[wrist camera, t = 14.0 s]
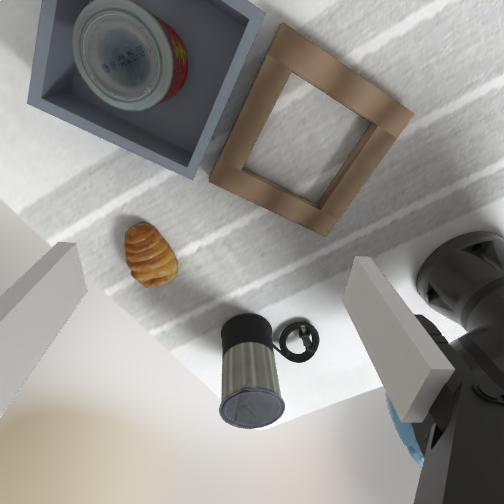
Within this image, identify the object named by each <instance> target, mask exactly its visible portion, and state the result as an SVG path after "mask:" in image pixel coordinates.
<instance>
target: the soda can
mask: <svg viewBox="0 0 504 504" xmlns="http://www.w3.org/2000/svg"><path fill="white" fill-rule="evenodd" d="M72 49H73V55H74V60H75V63H76V66H77V68H78V71H79V73H80V75H81V77H82V78H83V80H84V81H85V83H86V84H87V85H88V87H89V88H90V89H91V90H92V92H93V93H94V94H95V95H96V96H98V97H99V98H100V99H101V100H102V101H104V102H105V103H107V104H108V105H110V106H112V107H115V108H117V109H120V110H123V111H127V112H141V111H147V110H149V109H152V108H154V107H155V106H157V105H158V104H160V103H162V102H164V101H166V100H168V99H169V98H171V97H173V96H174V95H176V94H177V93H178V92H179V91H180V89H181V88H182V86H183V85H184V83H185V80H186V77H187V72H188V60H187V54H186V50H185V47H184V44H183V42H182V40H181V39H180V37H179V36H178V34H177V33H176V32H175V30H174V29H172V28H171V27H170V26H169V25H168V24H167V23H165V22H164V21H162V20H161V19H160V18H158V17H157V16H155V15H154V14H152V13H151V12H150V11H149V10H147V9H146V8H145V7H143V6H142V5H140V4H139V3H137V2H135V1H132V0H93V1H92V2H90V3H89V4H88V5H87V6H86V7H85V8H83V10H82V11H81V13H80V14H79V16H78V18H77V20H76V22H75V25H74V30H73V38H72Z"/></svg>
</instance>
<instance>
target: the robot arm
mask: <svg viewBox="0 0 504 504" xmlns="http://www.w3.org/2000/svg"><path fill="white" fill-rule="evenodd" d="M417 289H418V292H419V294H420V296H421V297H422V299H423V300H424V301H425V302H426V303H427V304H428V305H429V306H430V307H431V308H432V309H433V310H435V311H437V312H438V313H440V314H442V315H444V316H445V317H447V318H449V319H451V320H452V321H454V322H456V323H458V324H460V325H461V326H462V327H463V328H464V329H465V330H466V331H467V332H468V333H467V334H465V335H463V336H461V337H460V338H458V339H456V340H454V341H452V342H451V343H449V344H448V341H447V340H446V339H445V337H444V336H442V334H441V332H440V331H439V330H438V329H437V327H436V326H435V325H434V324H433V323H432V322H431V321H429V320H428V319H427V318H425V317H424V316H423V315H414V314H413V313H412V312H411V310H410V309H409V308H408V306H407V305H406V304H405V302H404V301H403V300H402V298H401V297H400V296H399V294H398V293H397V292H396V290H395V289H394V288H393V286H392V285H391V284H390V282H389V281H388V280H387V278H386V277H385V276H384V274H383V273H382V272H381V270H380V269H379V268H378V266H377V265H376V264H375V262H374V261H373V260H372V259H371V257H366V256H355V258H354V261H353V265H352V268H351V272H350V275H349V279H348V282H347V285H346V289H345V292H344V296H343V299H342V301H343V303H344V305H345V307H346V309H347V311H348V313H349V315H350V317H351V319H352V321H353V324H354V326H355V328H356V330H357V332H358V334H359V336H360V338H361V340H362V342H363V344H364V346H365V348H366V351H367V353H368V355H369V357H370V359H371V361H372V363H373V365H374V367H375V369H376V371H377V373H378V375H379V377H380V380H381V382H382V384H383V386H384V388H385V390H386V393H385V395H386V401H387V406H388V409H389V413H390V415H391V418H392V421H393V423H394V426H395V428H396V430H397V432H398V434H399V436H400V438H401V440H402V442H403V443H404V445H406V446H407V448H408V450H409V453H410V455H411V456H412V458H413V459H414V460H415V461H416V463H417V464H418V465H420V466H421V467H422V471H421V475H420V479H419V484H418V488H417V492H416V496H415V500H414V504H504V239H503V238H502V237H500V236H498V235H496V234H494V233H490V232H473V233H468V234H465V235H462V236H459V237H456V238H454V239H452V240H450V241H449V242H447V243H445V244H444V245H442V246H441V247H439V248H438V249H437V250H436V251H435V252H434V253H433V254H432V255H431V256H430V257H429V258H428V259H427V260H426V262H425V263H424V264H423V266H422V268H421V270H420V272H419V275H418V279H417ZM86 293H87V288H86V284H85V280H84V275H83V271H82V266H81V262H80V258H79V254H78V249H77V245H76V243H66V242H58V243H57V244H56V245H55V246H54V247H53V248H52V249H50V250H49V251H48V252H47V253H46V254H45V255H44V256H43V257H42V258H41V259H40V260H39V261H38V262H36V263H35V264H34V265H33V266H32V267H31V268H30V269H29V270H28V271H27V272H26V273H25V274H24V275H23V276H22V277H21V278H19V279H18V281H16V282H15V283H14V284H13V285H12V286H11V287H10V288H9V289H8V290H6V291H5V292H4V293H3V294H2V295H1V296H0V418H1V416H2V415H3V413H4V412H5V410H6V409H7V408H8V406H9V405H10V403H11V402H12V400H13V399H14V397H15V396H16V394H17V393H18V392H19V390H20V389H21V387H22V386H23V384H24V383H25V381H26V380H27V378H28V377H29V376H30V374H31V373H32V371H33V370H34V368H35V367H36V365H37V364H38V362H39V361H40V360H41V358H42V357H43V355H44V354H45V352H46V351H47V349H48V348H49V347H50V345H51V343H52V342H53V341H54V339H55V338H56V336H57V335H58V333H59V332H60V330H61V329H62V328H63V326H64V325H65V323H66V322H67V320H68V319H69V317H70V316H71V314H72V313H73V312H74V310H75V309H76V307H77V306H78V304H79V303H80V301H81V300H82V299H83V297H84V296H85V294H86Z"/></svg>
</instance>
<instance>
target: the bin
mask: <svg viewBox="0 0 504 504" xmlns="http://www.w3.org/2000/svg"><path fill="white" fill-rule="evenodd" d="M92 1H93V0H42V5H41V12H40V18H39V25H38V32H37V39H36V46H35V53H34V59H33V66H32V73H31V80H30V87H29V94H28V100H27V104H29V105H32V106H34V107H36V108H38V109H40V110H42V111H44V112H47V113H49V114H51V115H53V116H55V117H57V118H60V119H62V120H64V121H66V122H68V123H70V124H72V125H75V126H77V127H79V128H81V129H83V130H85V131H88V132H90V133H92V134H94V135H96V136H98V137H100V138H103V139H105V140H107V141H109V142H111V143H113V144H116V145H118V146H120V147H122V148H124V149H126V150H128V151H131V152H133V153H135V154H137V155H139V156H141V157H144V158H146V159H148V160H150V161H152V162H154V163H156V164H159V165H161V166H163V167H165V168H167V169H169V170H172V171H174V172H176V173H178V174H180V175H182V176H184V177H187V178H189V179H191V180H193V179H194V176H195V174H196V172H197V170H198V167H199V165H200V163H201V160H202V158H203V156H204V154H205V151H206V149H207V147H208V144H209V142H210V140H211V137H212V135H213V133H214V131H215V128H216V126H217V124H218V121H219V119H220V117H221V115H222V112H223V110H224V108H225V105H226V103H227V101H228V99H229V96H230V94H231V92H232V89H233V87H234V85H235V82H236V80H237V78H238V76H239V73H240V71H241V69H242V66H243V64H244V62H245V60H246V57H247V55H248V53H249V50H250V48H251V46H252V44H253V41H254V39H255V37H256V34H257V32H258V30H259V27H260V25H261V23H262V21H263V18H264V16H265V14H266V13H265V12H263V11H262V10H260V9H259V8H258V7H256V6H255V5H253V4H252V3H250V2H249V1H247V0H132V1H135V2H137V3H139V4H140V5H142V6H143V7H145V8H146V9H147V10H149V11H150V12H151V13H152V14H154V15H155V16H157V17H158V18H160V19H161V20H162V21H164V22H165V23H167V24H168V25H169V26H170V27H171V28H172V29H174V30H175V32H176V33H177V34H178V36H179V37H180V39H181V40H182V42H183V44H184V47H185V50H186V54H187V60H188V72H187V77H186V80H185V83H184V85H183V86H182V88H181V89H180V91H179V92H178V93H177V94H176V95H174V96H173V97H171V98H169V99H168V100H166V101H164V102H162V103H160V104H158V105H157V106H155V107H154V108H152V109H149V110H147V111H141V112H127V111H123V110H120V109H117V108H115V107H112V106H110V105H108V104H107V103H105V102H104V101H102V100H101V99H100V98H99V97H98V96H96V95H95V94H94V93H93V92H92V90H91V89H90V88H89V87H88V85H87V84H86V83H85V81H84V80H83V78H82V77H81V75H80V73H79V71H78V68H77V66H76V63H75V60H74V55H73V49H72V38H73V30H74V25H75V22H76V20H77V18H78V16H79V14H80V13H81V11H82V10H83V8H85V7H86V6H87V5H88V4H89V3H90V2H92Z"/></svg>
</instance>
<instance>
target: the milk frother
mask: <svg viewBox="0 0 504 504" xmlns="http://www.w3.org/2000/svg"><path fill="white" fill-rule="evenodd" d="M297 329H301V330H300V331H299V337H300V338H302V340H303V344H304V346H306V351H305V352H303V353H302V354H295V353H292V352H291V351H289V350H288V348H287V347H286V339H287V337H288V335H289V334H290V333H291V332H293V331H294V330H297ZM310 334H311V335H312V343H311V340H310V339H309V336H310ZM221 337H222V347H223V357H222V359H223V360H222V361H223V362H222V403H221V405H220V408H219V412H220V416H221V417H222V419H223V420H224V421H225V422H226V423H228V424H230V425H232V426H235V427H238V428H245V429H252V428H259V427H264V426H267V425H269V424H272V423H273V422H275V421H277V420H278V419H279V418H280V417H281V416H282V414H283V413H284V410H285V403H284V401H283V399H282V398H281V393H280V387H279V381H278V375H277V369H276V363H275V358H274V352H273V348H274V349H276V350H277V351H278V352H279V353H280V354H281V355H283V356H284V357H285V358H287V359H288V360H290V361H292V362H296V363H302V362H305V361H307V360H309V359H310V358H311V357H312V356H313V355H314V354H315V352H316V350H317V348H318V345H319V335H318V332H317V330H316V329H315V327H314V326H312V325H311V324H308V323H305V322H298V323H294V324H291V325H289V326H287V327H286V328H285V329H284V330H283V332H282V333H281V336H280V340H279V344H280V349H281V350H279V349H278V348H277V347H276V346H275V345H274V344H273V343H272V327H271V325H270V323H269V322H268V321H267V320H266V319H264V318H263V317H261V316H258V315H254V314H242V315H238V316H235V317H233V318H231V319H230V320H228V321H227V322H226V323H225V324H224V326H223V328H222V331H221Z"/></svg>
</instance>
